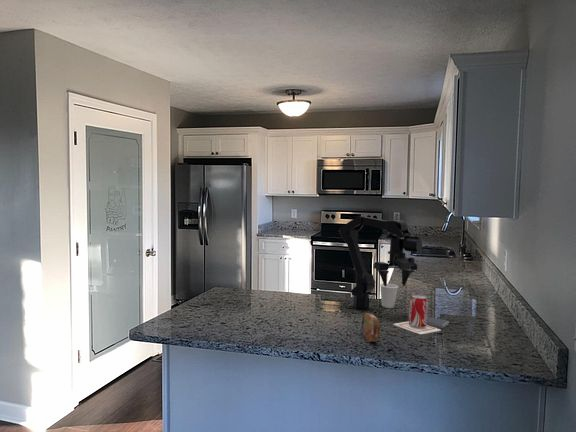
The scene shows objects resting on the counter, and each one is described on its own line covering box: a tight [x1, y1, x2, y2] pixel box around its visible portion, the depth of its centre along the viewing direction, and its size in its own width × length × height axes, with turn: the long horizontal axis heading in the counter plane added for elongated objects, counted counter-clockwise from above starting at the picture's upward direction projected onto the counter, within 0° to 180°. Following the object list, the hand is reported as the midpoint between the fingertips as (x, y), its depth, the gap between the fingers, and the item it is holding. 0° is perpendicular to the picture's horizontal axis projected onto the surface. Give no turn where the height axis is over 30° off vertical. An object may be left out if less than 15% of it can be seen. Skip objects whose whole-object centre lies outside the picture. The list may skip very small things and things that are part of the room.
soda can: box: [408, 294, 429, 328], centre depth 180 cm, size 7×7×12 cm
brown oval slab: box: [361, 312, 381, 343], centre depth 163 cm, size 15×3×8 cm, turn 5°
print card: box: [392, 320, 442, 335], centre depth 180 cm, size 14×12×1 cm
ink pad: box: [426, 316, 450, 329], centre depth 187 cm, size 11×8×1 cm
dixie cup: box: [379, 283, 399, 309], centre depth 212 cm, size 8×8×10 cm
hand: (394, 285), depth 196 cm, fingers open, 9 cm apart
